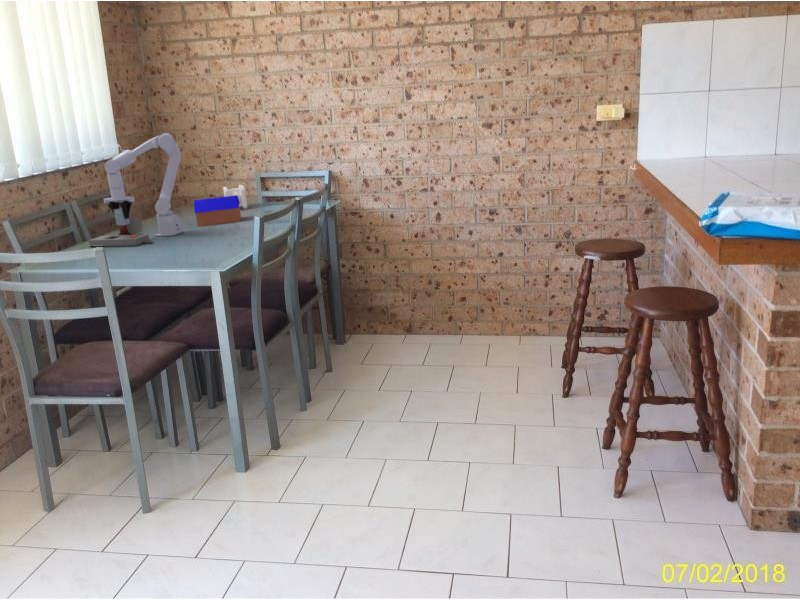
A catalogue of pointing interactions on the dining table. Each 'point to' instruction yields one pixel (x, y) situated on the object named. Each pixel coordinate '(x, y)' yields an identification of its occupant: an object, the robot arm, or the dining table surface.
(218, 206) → the blue-topped brown box
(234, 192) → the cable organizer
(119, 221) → the block
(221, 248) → the dining table surface
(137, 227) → the mug
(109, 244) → the power strip
